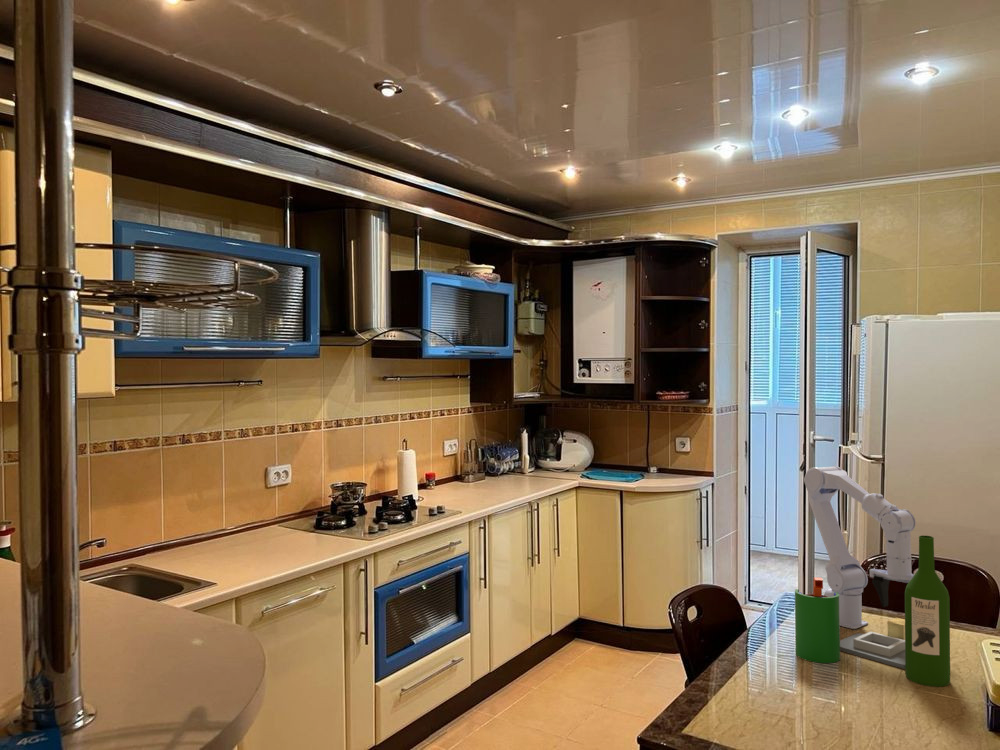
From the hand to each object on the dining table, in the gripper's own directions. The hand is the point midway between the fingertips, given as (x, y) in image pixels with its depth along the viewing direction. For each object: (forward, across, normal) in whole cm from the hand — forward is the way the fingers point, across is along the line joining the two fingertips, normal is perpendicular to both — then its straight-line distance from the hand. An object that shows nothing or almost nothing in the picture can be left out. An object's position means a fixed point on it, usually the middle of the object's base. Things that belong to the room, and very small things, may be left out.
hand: (900, 609), depth 197 cm
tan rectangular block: (+9, 0, 0) cm, 9 cm away
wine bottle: (+9, +14, -20) cm, 26 cm away
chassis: (+8, 0, -11) cm, 14 cm away
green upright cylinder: (+9, -9, -26) cm, 29 cm away
